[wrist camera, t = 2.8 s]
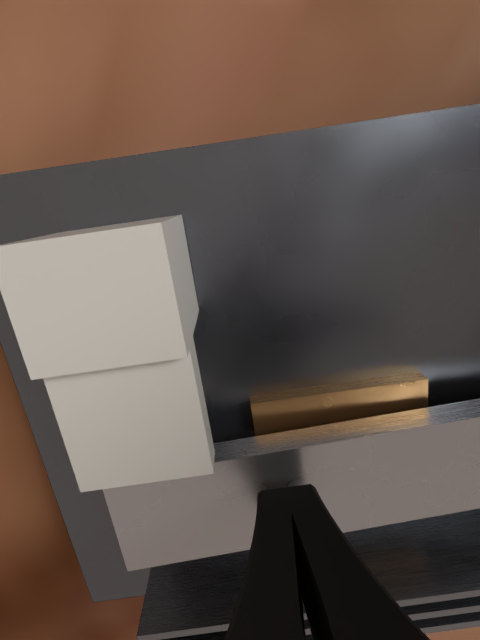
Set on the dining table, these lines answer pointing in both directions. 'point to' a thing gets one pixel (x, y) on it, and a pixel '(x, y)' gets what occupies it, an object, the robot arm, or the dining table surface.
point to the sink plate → (291, 327)
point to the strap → (308, 482)
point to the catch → (114, 347)
